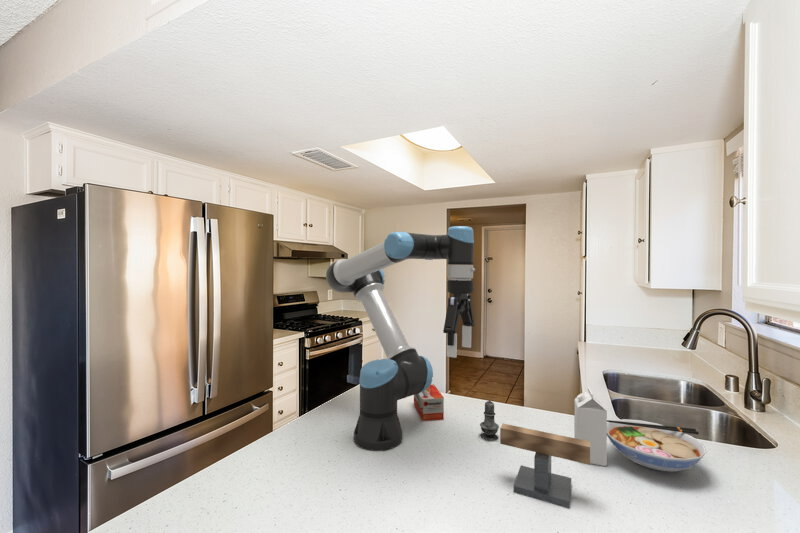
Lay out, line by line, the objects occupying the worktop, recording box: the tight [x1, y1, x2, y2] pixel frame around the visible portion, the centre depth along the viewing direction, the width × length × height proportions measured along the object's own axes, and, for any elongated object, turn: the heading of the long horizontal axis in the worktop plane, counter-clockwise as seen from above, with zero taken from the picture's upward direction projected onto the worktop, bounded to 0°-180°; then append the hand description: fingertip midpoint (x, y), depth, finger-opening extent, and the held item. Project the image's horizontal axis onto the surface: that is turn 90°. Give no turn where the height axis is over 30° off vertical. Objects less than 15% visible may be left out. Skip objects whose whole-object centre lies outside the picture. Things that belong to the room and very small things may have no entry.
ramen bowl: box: [607, 418, 707, 472], centre depth 98 cm, size 25×23×8 cm
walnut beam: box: [499, 423, 591, 466], centre depth 87 cm, size 20×3×4 cm, turn 62°
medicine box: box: [413, 384, 445, 422], centre depth 132 cm, size 15×8×8 cm, turn 9°
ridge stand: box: [513, 452, 572, 509], centre depth 87 cm, size 12×10×9 cm
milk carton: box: [573, 386, 608, 467], centre depth 101 cm, size 7×7×19 cm
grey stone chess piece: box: [479, 398, 500, 442], centre depth 113 cm, size 6×6×12 cm
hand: (459, 351), depth 105 cm, fingers open, 13 cm apart
